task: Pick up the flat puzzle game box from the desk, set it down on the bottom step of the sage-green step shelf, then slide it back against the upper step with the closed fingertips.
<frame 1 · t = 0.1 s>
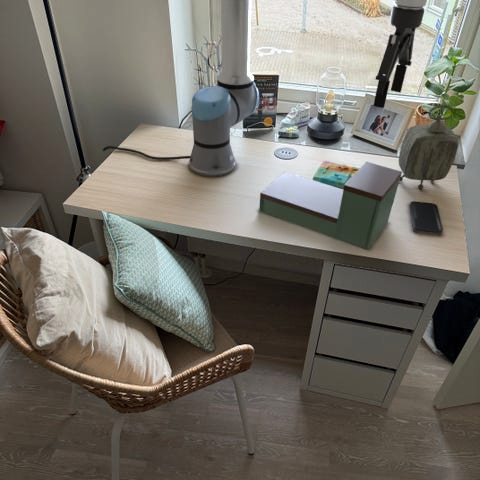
hand: (387, 98, 126), 28 cm above the table, tool pointing down, fingers open, 13 cm apart
puzzle game: (346, 187, 148), on the table
step shelf: (322, 217, 135), on the table
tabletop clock: (417, 186, 149), on the table
phone: (424, 219, 135), on the table
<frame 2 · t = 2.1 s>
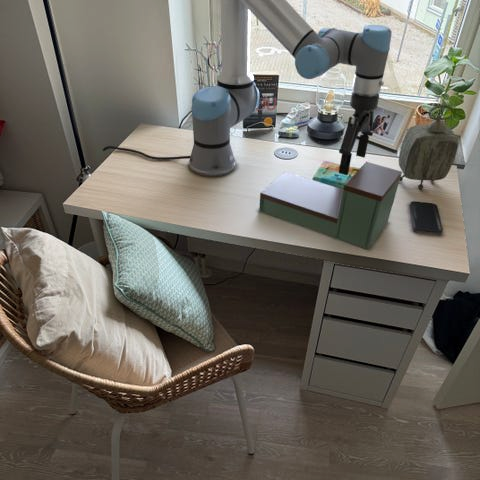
hand: (352, 164, 143), 7 cm above the table, tool pointing down, fingers open, 13 cm apart
nothing on the table moved.
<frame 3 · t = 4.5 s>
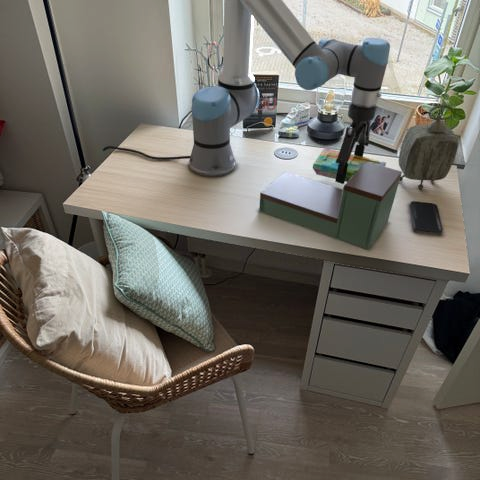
hand: (348, 173, 145), 4 cm above the table, tool pointing down, fingers closed on puzzle game, 12 cm apart
puzzle game: (347, 175, 146), point 4 cm above the table, touching gripper
everything else where it was.
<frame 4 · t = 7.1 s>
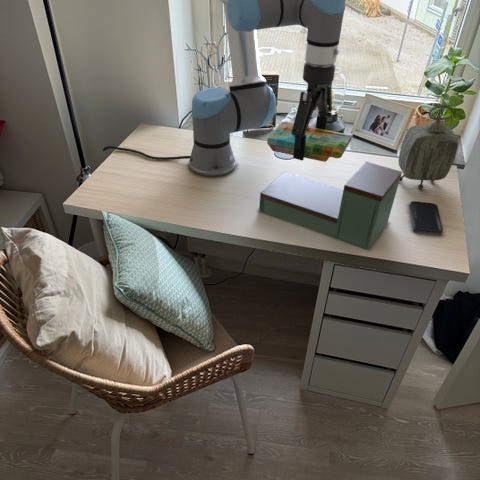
hand: (308, 149, 126), 18 cm above the table, tool pointing down, fingers closed on puzzle game, 12 cm apart
puzzle game: (308, 151, 127), point 17 cm above the table, touching gripper
everything else where it was.
when the fingers open (6 cm above the table, at t = 10.0 s): puzzle game stays where it is, resting on step shelf.
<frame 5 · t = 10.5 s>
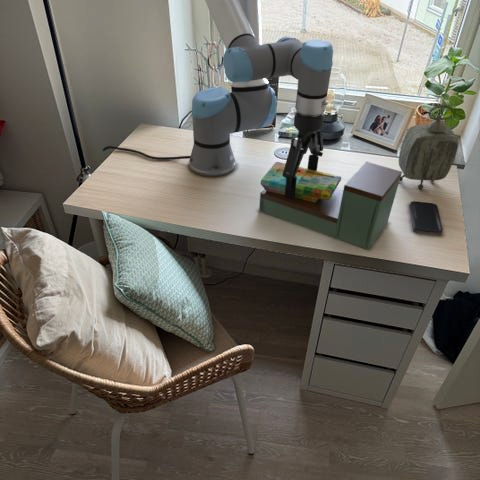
hand: (300, 187, 133), 7 cm above the table, tool pointing down, fingers open, 13 cm apart
puzzle game: (299, 191, 134), point 6 cm above the table, touching step shelf
everything else where it was.
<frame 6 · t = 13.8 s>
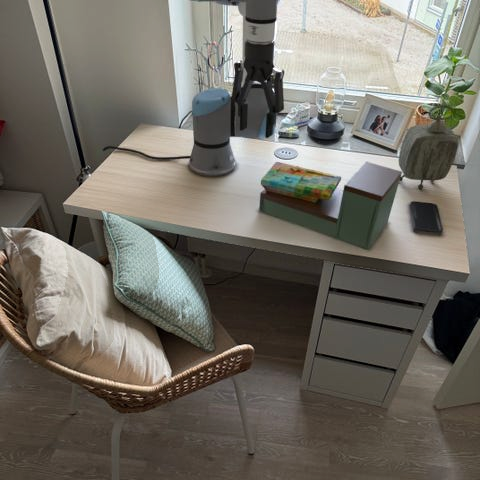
hand: (256, 132, 130), 19 cm above the table, tool pointing down, fingers open, 8 cm apart
nothing on the table moved.
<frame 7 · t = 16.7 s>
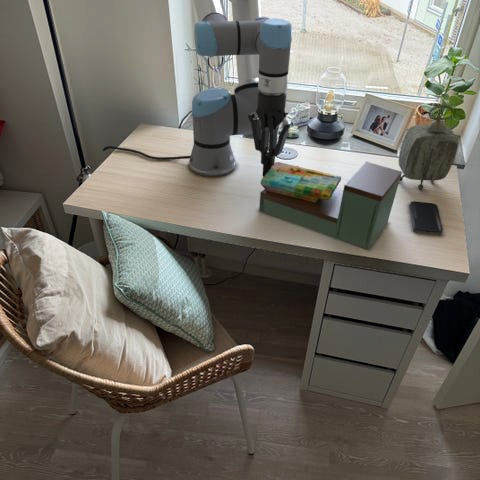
hand: (266, 175, 137), 8 cm above the table, tool pointing down, fingers closed
puzzle game: (299, 191, 134), point 6 cm above the table, touching gripper, step shelf
everything else where it was.
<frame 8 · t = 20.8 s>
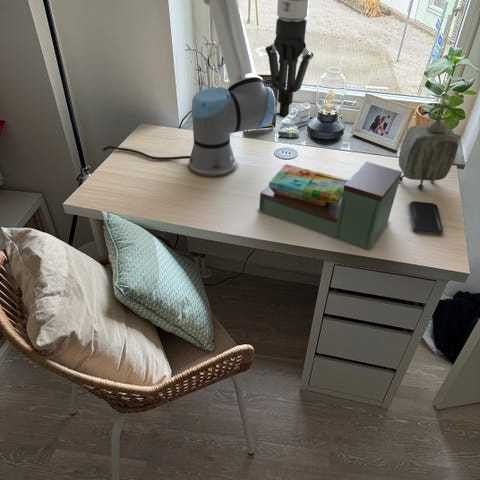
hand: (283, 115, 131), 22 cm above the table, tool pointing down, fingers closed
puzzle game: (308, 194, 133), point 6 cm above the table, touching step shelf
everything else where it was.
at the end: puzzle game inside the target area (0.8 cm from its centre), point 5.8 cm above the table; puzzle game 1.2 cm from the target spot, point 5.8 cm above the table; puzzle game tilted 2° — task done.
